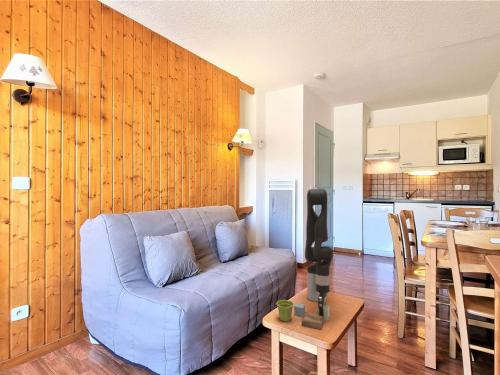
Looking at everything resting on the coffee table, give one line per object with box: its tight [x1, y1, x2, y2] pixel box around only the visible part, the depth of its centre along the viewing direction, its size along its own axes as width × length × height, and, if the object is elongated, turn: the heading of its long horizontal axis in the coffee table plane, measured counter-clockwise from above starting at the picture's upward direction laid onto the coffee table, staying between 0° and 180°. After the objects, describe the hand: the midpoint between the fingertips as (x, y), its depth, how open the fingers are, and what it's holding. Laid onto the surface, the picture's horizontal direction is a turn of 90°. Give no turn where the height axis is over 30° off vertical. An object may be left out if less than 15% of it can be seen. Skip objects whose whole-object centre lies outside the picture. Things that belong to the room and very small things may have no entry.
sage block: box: [316, 304, 331, 322], centre depth 156 cm, size 6×6×6 cm
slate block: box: [293, 302, 306, 318], centre depth 160 cm, size 5×5×5 cm
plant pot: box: [276, 299, 295, 323], centre depth 154 cm, size 9×9×9 cm
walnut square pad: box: [301, 311, 325, 331], centre depth 149 cm, size 10×10×3 cm
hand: (322, 312), depth 155 cm, fingers open, 8 cm apart
